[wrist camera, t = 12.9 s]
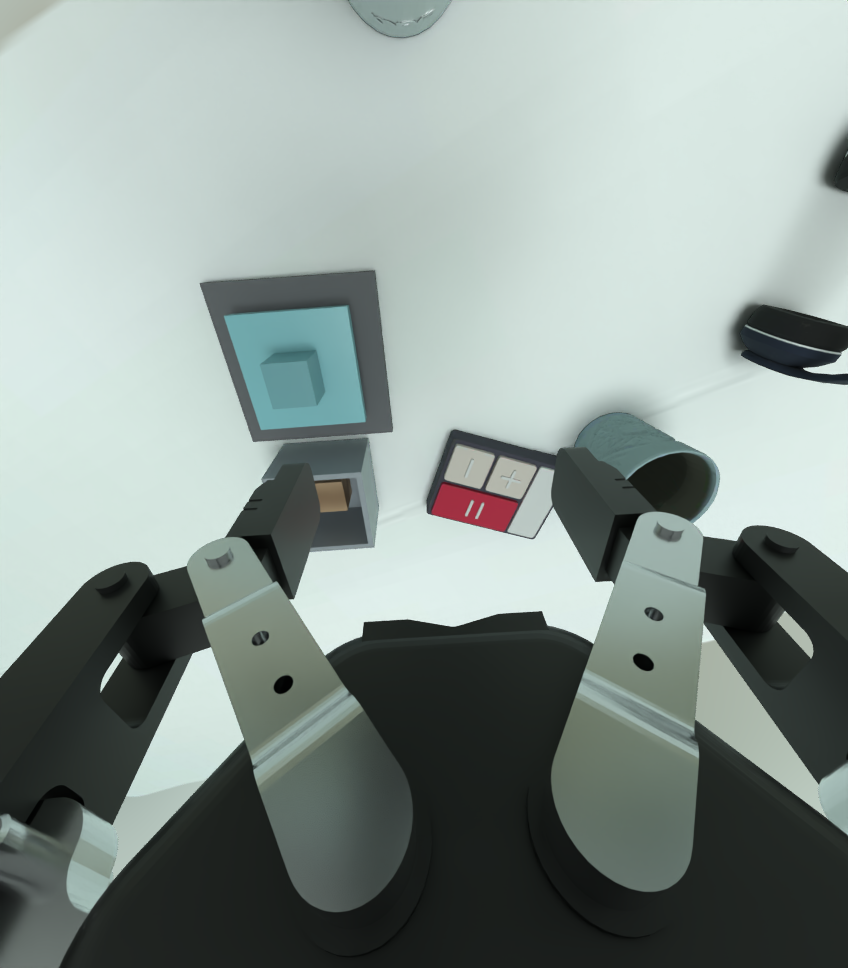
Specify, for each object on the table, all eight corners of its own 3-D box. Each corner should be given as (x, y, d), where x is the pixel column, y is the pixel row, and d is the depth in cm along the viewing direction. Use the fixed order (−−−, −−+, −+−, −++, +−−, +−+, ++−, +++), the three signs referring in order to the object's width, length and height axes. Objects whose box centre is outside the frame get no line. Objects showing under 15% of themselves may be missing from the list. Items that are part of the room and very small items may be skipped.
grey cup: (604, 490, 49) (655, 553, 39) (548, 455, 46) (588, 513, 36) (667, 431, 45) (743, 483, 34) (610, 387, 41) (676, 431, 31)
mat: (204, 282, 34) (199, 283, 34) (375, 270, 34) (374, 271, 34) (256, 438, 43) (253, 441, 42) (392, 428, 43) (392, 432, 42)
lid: (235, 311, 35) (202, 323, 29) (350, 303, 35) (340, 312, 29) (269, 420, 41) (246, 446, 35) (367, 412, 41) (361, 438, 35)
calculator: (453, 440, 41) (576, 474, 43) (451, 425, 44) (565, 457, 46) (425, 517, 46) (535, 544, 48) (425, 498, 50) (528, 524, 52)
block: (313, 466, 45) (306, 484, 41) (346, 464, 45) (341, 481, 41) (320, 494, 47) (313, 512, 43) (352, 491, 47) (347, 510, 43)
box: (284, 444, 43) (261, 479, 37) (368, 438, 43) (361, 472, 37) (303, 511, 49) (287, 553, 42) (378, 506, 49) (374, 547, 42)
